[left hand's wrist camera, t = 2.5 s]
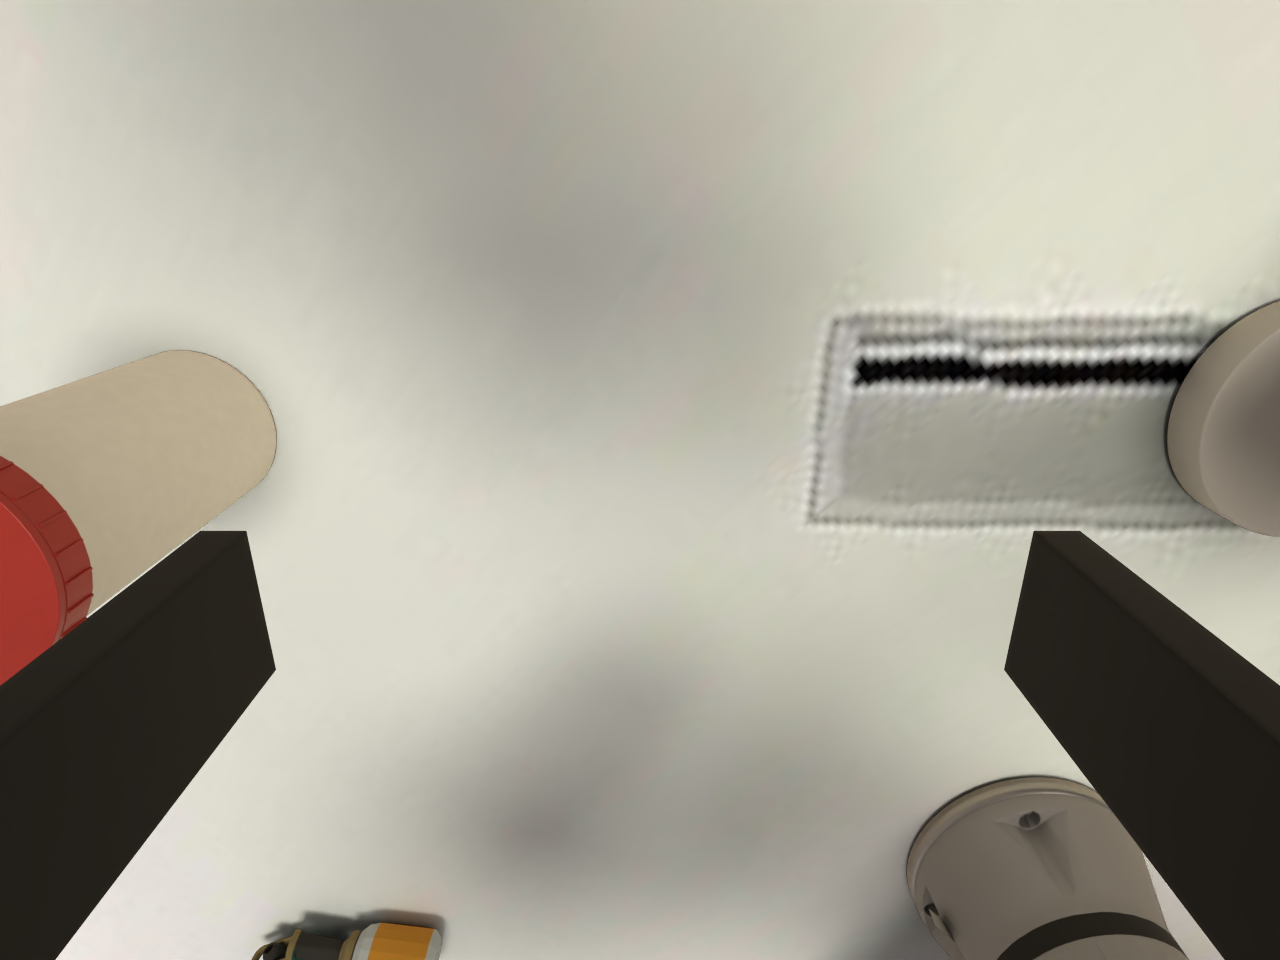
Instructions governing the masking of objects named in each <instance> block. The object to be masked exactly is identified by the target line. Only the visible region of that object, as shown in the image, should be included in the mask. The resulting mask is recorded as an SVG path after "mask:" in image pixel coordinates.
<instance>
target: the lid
mask: <svg viewBox="0 0 1280 960" xmlns="http://www.w3.org/2000/svg"><path fill="white" fill-rule="evenodd" d="M83 541H84V540H83V539H82V538H81V536H80V534H79V531H78V529H77V528H76V526H75V525H74V523H73V521H72V520H71V518H70V517H69V515H68V514H67V512H66V510H64V509H63V507H62V506H61V505H60V504H59V502H58V501H57V500H56V499H55V498H54V497H53V496H52V495H51V494H50V493H49V492H48V491H47V490H46V489H45V488H44V487H43V485H42V484H40V483H39V482H38V481H37V480H35V479H34V478H33V477H32V476H31V475H29V474H28V473H27V472H25V471H24V470H22V469H21V468H20V467H18V466H17V465H15V464H14V463H13V462H12V461H9V460H7V459H5V458H4V457H2V456H0V686H1V685H2V684H3V683H4V682H6V681H7V680H8V679H10V678H11V677H12V676H13V675H15V674H16V673H17V672H19V671H20V670H21V669H22V668H24V667H25V666H26V665H28V664H29V663H30V662H32V661H33V660H34V659H35V658H37V657H38V656H39V655H41V654H42V653H43V652H44V651H46V650H47V649H48V648H50V647H51V646H52V645H54V644H55V643H56V642H57V641H59V640H60V639H61V638H63V637H64V636H65V635H66V634H68V633H69V632H70V631H72V630H73V629H74V628H75V627H77V626H78V625H79V624H81V623H82V622H83V621H85V620H86V619H87V618H86V616H87V614H88V611H89V607H90V604H91V600H92V597H93V596H94V594H92V592H93V575H92V570H93V568H92V567H91V564H90V559H89V556H88V553H87V550H86V547H85V544H84V542H83Z"/></svg>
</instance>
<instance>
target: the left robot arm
mask: <svg viewBox="0 0 1280 960" xmlns="http://www.w3.org/2000/svg"><path fill="white" fill-rule="evenodd" d="M275 670H276V668H275V663H274V659H273V654H272V649H271V645H270V640H269V635H268V631H267V626H266V621H265V617H264V612H263V607H262V603H261V598H260V593H259V589H258V584H257V579H256V574H255V570H254V565H253V560H252V556H251V551H250V546H249V542H248V537H247V532H246V531H200V532H198V533H197V534H196V535H194V536H193V537H192V538H191V539H189V540H188V541H187V542H185V543H184V544H183V545H182V546H180V547H179V548H178V549H176V550H175V551H174V552H172V553H171V554H170V555H169V556H167V557H166V558H165V559H163V560H162V561H161V562H160V563H158V564H157V565H156V566H154V567H153V568H152V569H150V570H149V571H148V572H147V573H145V574H144V575H143V576H141V577H140V578H139V579H138V580H136V581H135V582H134V583H132V584H131V585H130V586H129V587H127V588H126V589H125V590H123V591H122V592H121V593H119V594H118V595H117V596H116V597H114V598H113V599H112V600H110V601H109V602H108V603H107V604H105V605H104V606H103V607H101V608H100V609H99V610H97V611H96V612H95V613H94V614H92V615H91V616H90V617H88V618H87V619H86V620H85V621H83V622H82V623H81V624H79V625H78V626H77V627H75V628H74V629H73V630H72V631H70V632H69V633H68V634H66V635H65V636H64V637H63V638H61V639H60V640H59V641H57V642H56V643H55V644H54V645H52V646H51V647H50V648H48V649H47V650H46V651H44V652H43V653H42V654H41V655H39V656H38V657H37V658H35V659H34V660H33V661H32V662H30V663H29V664H28V665H26V666H25V667H24V668H22V669H21V670H20V671H19V672H17V673H16V674H15V675H13V676H12V677H11V678H10V679H8V680H7V681H6V682H4V683H3V684H2V685H1V686H0V960H55V959H56V958H57V957H58V955H59V954H60V953H61V951H62V950H63V949H64V948H65V946H66V945H67V944H68V942H69V941H70V940H71V938H72V937H73V936H74V934H75V933H76V932H77V930H78V929H79V928H80V926H81V925H82V924H83V923H84V921H85V920H86V919H87V917H88V916H89V915H90V913H91V912H92V911H93V909H94V908H95V907H96V905H97V904H98V903H99V902H100V900H101V899H102V898H103V896H104V895H105V894H106V892H107V891H108V890H109V888H110V887H111V886H112V884H113V883H114V882H115V880H116V879H117V878H118V877H119V875H120V874H121V873H122V871H123V870H124V869H125V867H126V866H127V865H128V863H129V862H130V861H131V859H132V858H133V857H134V855H135V854H136V853H137V852H138V850H139V849H140V848H141V846H142V845H143V844H144V842H145V841H146V840H147V838H148V837H149V836H150V834H151V833H152V832H153V831H154V829H155V828H156V827H157V825H158V824H159V823H160V821H161V820H162V819H163V817H164V816H165V815H166V813H167V812H168V811H169V809H170V808H171V807H172V806H173V804H174V803H175V802H176V800H177V799H178V798H179V796H180V795H181V794H182V792H183V791H184V790H185V788H186V787H187V786H188V784H189V783H190V782H191V781H192V779H193V778H194V777H195V775H196V774H197V773H198V771H199V770H200V769H201V767H202V766H203V765H204V763H205V762H206V761H207V760H208V758H209V757H210V756H211V754H212V753H213V752H214V750H215V749H216V748H217V746H218V745H219V744H220V742H221V741H222V740H223V738H224V737H225V736H226V735H227V733H228V732H229V731H230V729H231V728H232V727H233V725H234V724H235V723H236V721H237V720H238V719H239V717H240V716H241V715H242V714H243V712H244V711H245V710H246V708H247V707H248V706H249V704H250V703H251V702H252V700H253V699H254V698H255V696H256V695H257V694H258V692H259V691H260V690H261V689H262V687H263V686H264V685H265V683H266V682H267V681H268V679H269V678H270V677H271V675H272V674H273V673H274V671H275ZM1004 670H1005V671H1006V673H1007V674H1008V675H1009V677H1010V678H1011V679H1012V681H1013V682H1014V683H1015V685H1016V686H1017V687H1018V689H1019V690H1020V691H1021V692H1022V694H1023V695H1024V696H1025V698H1026V699H1027V700H1028V702H1029V703H1030V704H1031V706H1032V707H1033V708H1034V710H1035V711H1036V712H1037V714H1038V715H1039V716H1040V717H1041V719H1042V720H1043V721H1044V723H1045V724H1046V725H1047V727H1048V728H1049V729H1050V731H1051V732H1052V733H1053V735H1054V736H1055V737H1056V738H1057V740H1058V741H1059V742H1060V744H1061V745H1062V746H1063V748H1064V749H1065V750H1066V752H1067V753H1068V754H1069V756H1070V757H1071V758H1072V760H1073V761H1074V762H1075V763H1076V765H1077V766H1078V767H1079V769H1080V770H1081V771H1082V773H1083V774H1084V775H1085V777H1086V778H1087V779H1088V781H1089V782H1090V783H1091V784H1092V786H1093V787H1094V788H1095V790H1096V791H1097V792H1098V794H1099V795H1100V796H1101V798H1102V799H1103V800H1104V802H1105V803H1106V804H1107V806H1108V807H1109V808H1110V809H1111V811H1112V812H1113V813H1114V815H1115V816H1116V817H1117V819H1118V820H1119V821H1120V823H1121V824H1122V825H1123V827H1124V828H1125V829H1126V831H1127V832H1128V833H1129V834H1130V836H1131V837H1132V838H1133V840H1134V841H1135V842H1136V844H1137V845H1138V846H1139V848H1140V849H1141V850H1142V852H1143V853H1144V854H1145V855H1146V857H1147V858H1148V859H1149V861H1150V862H1151V863H1152V865H1153V866H1154V867H1155V869H1156V870H1157V871H1158V873H1159V874H1160V875H1161V877H1162V878H1163V879H1164V880H1165V882H1166V883H1167V884H1168V886H1169V887H1170V888H1171V890H1172V891H1173V892H1174V894H1175V895H1176V896H1177V898H1178V899H1179V900H1180V902H1181V903H1182V904H1183V905H1184V907H1185V908H1186V909H1187V911H1188V912H1189V913H1190V915H1191V916H1192V917H1193V919H1194V920H1195V921H1196V923H1197V924H1198V925H1199V926H1200V928H1201V929H1202V930H1203V932H1204V933H1205V934H1206V936H1207V937H1208V938H1209V940H1210V941H1211V942H1212V944H1213V945H1214V946H1215V948H1216V949H1217V950H1218V951H1219V953H1220V954H1221V955H1222V957H1223V958H1224V959H1225V960H1280V686H1279V685H1278V684H1277V683H1276V682H1274V681H1273V680H1272V679H1270V678H1269V677H1268V676H1267V675H1265V674H1264V673H1263V672H1261V671H1260V670H1259V669H1258V668H1256V667H1255V666H1254V665H1252V664H1251V663H1250V662H1248V661H1247V660H1246V659H1245V658H1243V657H1242V656H1241V655H1239V654H1238V653H1237V652H1236V651H1234V650H1233V649H1232V648H1230V647H1229V646H1228V645H1226V644H1225V643H1224V642H1223V641H1221V640H1220V639H1219V638H1217V637H1216V636H1215V635H1214V634H1212V633H1211V632H1210V631H1208V630H1207V629H1206V628H1205V627H1203V626H1202V625H1201V624H1199V623H1198V622H1197V621H1195V620H1194V619H1193V618H1192V617H1190V616H1189V615H1188V614H1186V613H1185V612H1184V611H1183V610H1181V609H1180V608H1179V607H1177V606H1176V605H1175V604H1173V603H1172V602H1171V601H1170V600H1168V599H1167V598H1166V597H1164V596H1163V595H1162V594H1161V593H1159V592H1158V591H1157V590H1155V589H1154V588H1153V587H1151V586H1150V585H1149V584H1148V583H1146V582H1145V581H1144V580H1142V579H1141V578H1140V577H1139V576H1137V575H1136V574H1135V573H1133V572H1132V571H1131V570H1130V569H1128V568H1127V567H1126V566H1124V565H1123V564H1122V563H1120V562H1119V561H1118V560H1117V559H1115V558H1114V557H1113V556H1111V555H1110V554H1109V553H1108V552H1106V551H1105V550H1104V549H1102V548H1101V547H1100V546H1098V545H1097V544H1096V543H1095V542H1093V541H1092V540H1091V539H1089V538H1088V537H1087V536H1086V535H1084V534H1083V533H1082V532H1080V531H1034V532H1033V537H1032V542H1031V546H1030V551H1029V556H1028V560H1027V565H1026V570H1025V574H1024V579H1023V584H1022V589H1021V593H1020V598H1019V603H1018V607H1017V612H1016V617H1015V621H1014V626H1013V631H1012V635H1011V640H1010V645H1009V649H1008V654H1007V659H1006V663H1005V668H1004Z"/></svg>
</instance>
